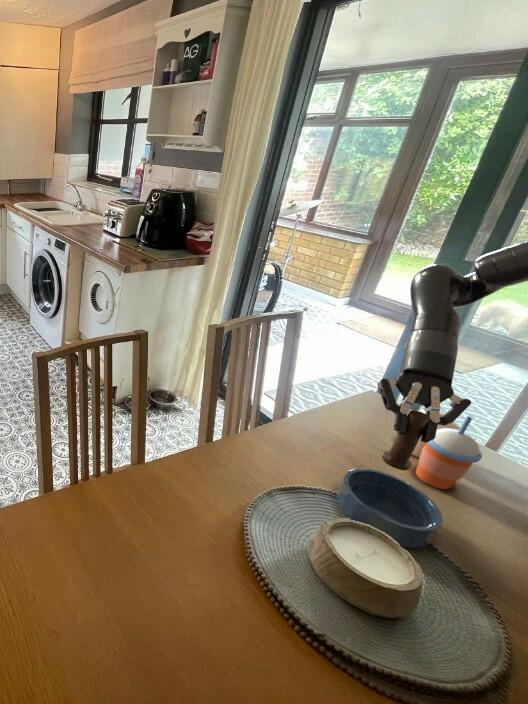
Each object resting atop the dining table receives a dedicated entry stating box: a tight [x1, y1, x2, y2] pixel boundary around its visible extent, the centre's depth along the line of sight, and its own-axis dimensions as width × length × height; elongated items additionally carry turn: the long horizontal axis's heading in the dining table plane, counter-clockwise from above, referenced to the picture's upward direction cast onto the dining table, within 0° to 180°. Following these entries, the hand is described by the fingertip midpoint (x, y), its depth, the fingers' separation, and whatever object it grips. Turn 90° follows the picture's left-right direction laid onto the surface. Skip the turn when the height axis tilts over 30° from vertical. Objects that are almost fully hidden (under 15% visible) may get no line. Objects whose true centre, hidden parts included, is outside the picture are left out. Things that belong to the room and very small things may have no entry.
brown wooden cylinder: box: [381, 409, 430, 471], centre depth 81 cm, size 4×4×12 cm
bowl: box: [336, 468, 444, 548], centre depth 86 cm, size 16×16×6 cm
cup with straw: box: [415, 416, 483, 490], centre depth 92 cm, size 9×9×18 cm
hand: (413, 437), depth 79 cm, fingers closed on brown wooden cylinder, 3 cm apart
